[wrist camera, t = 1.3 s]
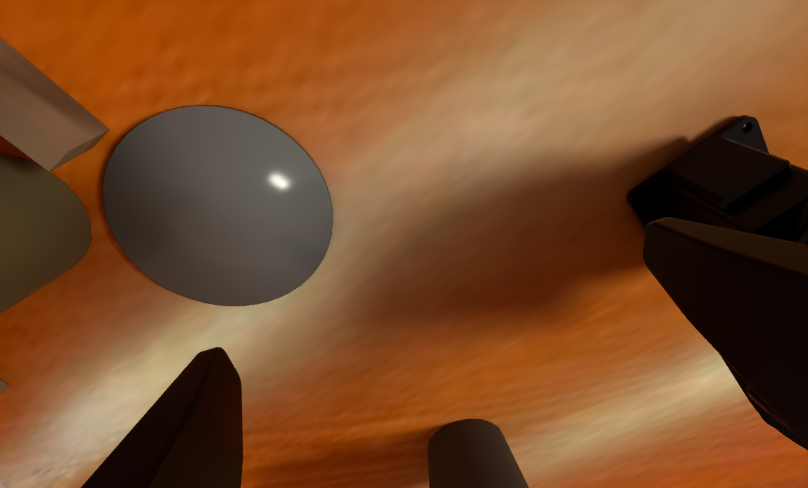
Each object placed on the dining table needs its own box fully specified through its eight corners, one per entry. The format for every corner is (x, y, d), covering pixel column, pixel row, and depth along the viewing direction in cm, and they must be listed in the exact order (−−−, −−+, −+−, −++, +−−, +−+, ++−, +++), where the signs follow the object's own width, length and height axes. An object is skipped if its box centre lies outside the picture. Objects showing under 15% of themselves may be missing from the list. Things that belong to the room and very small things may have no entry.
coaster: (375, 223, 22) (375, 226, 21) (235, 332, 24) (233, 337, 24) (210, 51, 17) (207, 52, 17) (59, 205, 20) (53, 208, 19)
